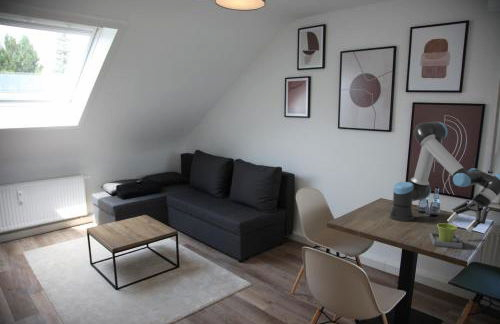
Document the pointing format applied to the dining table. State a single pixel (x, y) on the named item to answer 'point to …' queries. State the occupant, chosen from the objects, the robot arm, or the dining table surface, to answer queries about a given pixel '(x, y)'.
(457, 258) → the dining table surface
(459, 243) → the tray
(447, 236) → the plant pot
